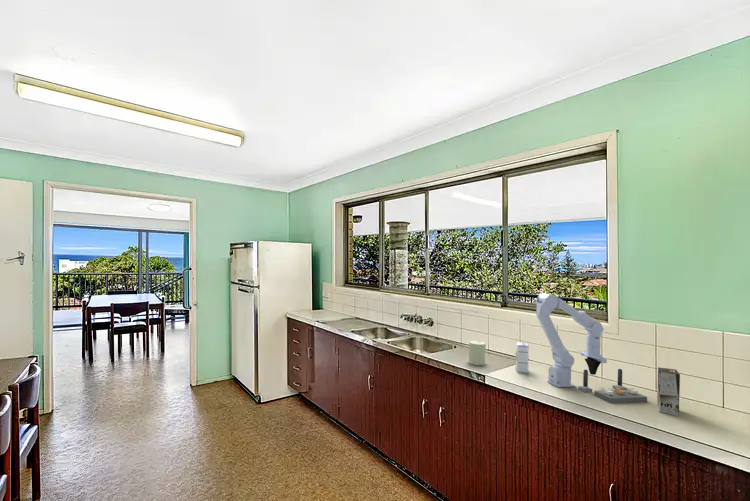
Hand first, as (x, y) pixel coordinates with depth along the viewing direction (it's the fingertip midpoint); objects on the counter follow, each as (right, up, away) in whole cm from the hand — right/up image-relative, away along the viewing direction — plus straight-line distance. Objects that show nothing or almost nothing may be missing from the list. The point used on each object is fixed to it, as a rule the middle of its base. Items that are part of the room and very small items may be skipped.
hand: (592, 374), depth 180 cm
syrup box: (-26, -5, +20) cm, 33 cm away
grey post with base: (+10, -6, -5) cm, 12 cm away
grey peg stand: (-8, -5, -8) cm, 12 cm away
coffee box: (+14, -6, -28) cm, 32 cm away
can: (-46, -5, +33) cm, 57 cm away
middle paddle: (+3, -2, -16) cm, 16 cm away
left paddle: (-3, -2, -17) cm, 18 cm away
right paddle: (+9, -3, -15) cm, 18 cm away
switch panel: (+3, -5, -16) cm, 17 cm away
